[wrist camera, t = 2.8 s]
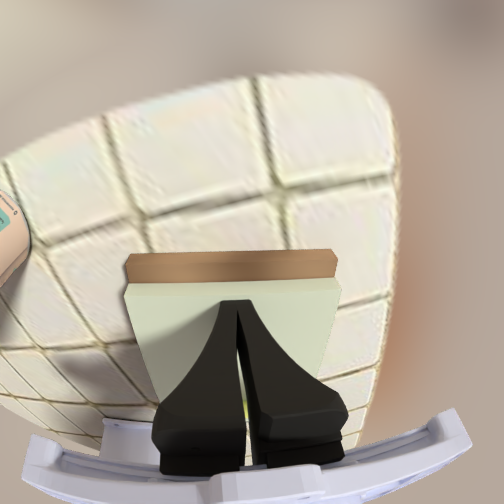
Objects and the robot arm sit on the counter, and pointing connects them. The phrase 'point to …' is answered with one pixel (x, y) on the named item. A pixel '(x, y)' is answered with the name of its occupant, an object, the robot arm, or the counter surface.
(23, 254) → the beer can
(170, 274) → the walnut base
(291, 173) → the counter surface
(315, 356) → the plate
